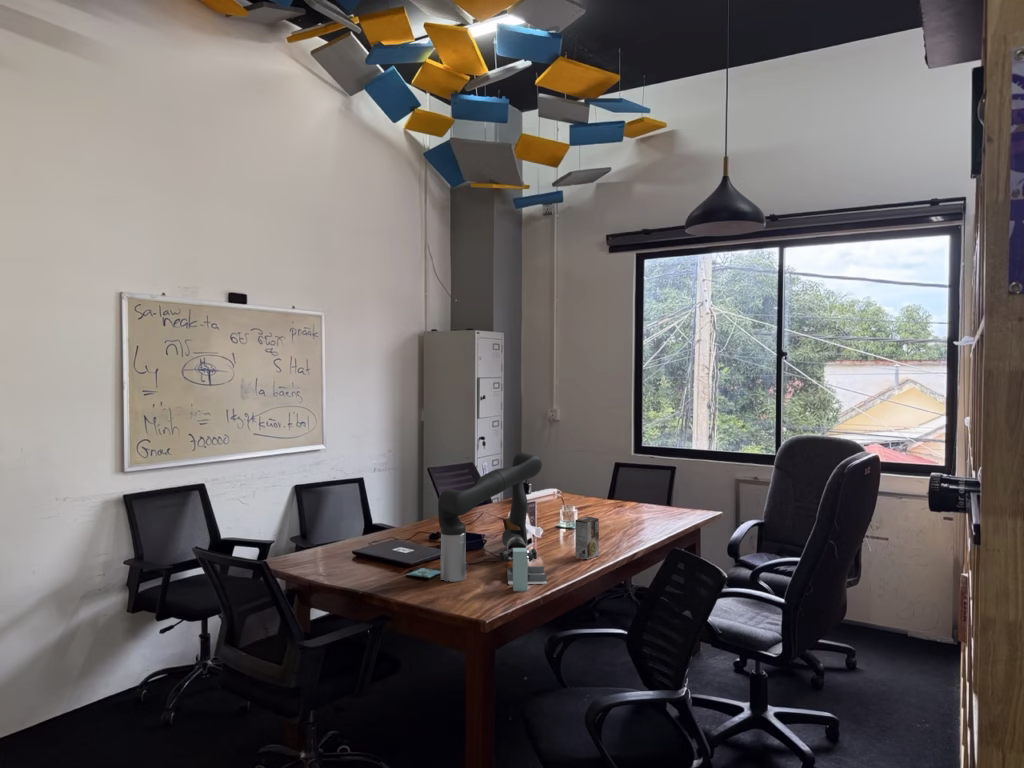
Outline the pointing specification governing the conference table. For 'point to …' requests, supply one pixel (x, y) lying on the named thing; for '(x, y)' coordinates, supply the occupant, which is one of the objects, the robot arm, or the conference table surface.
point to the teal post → (520, 569)
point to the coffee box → (586, 537)
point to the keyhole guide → (530, 575)
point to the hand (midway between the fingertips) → (518, 559)
